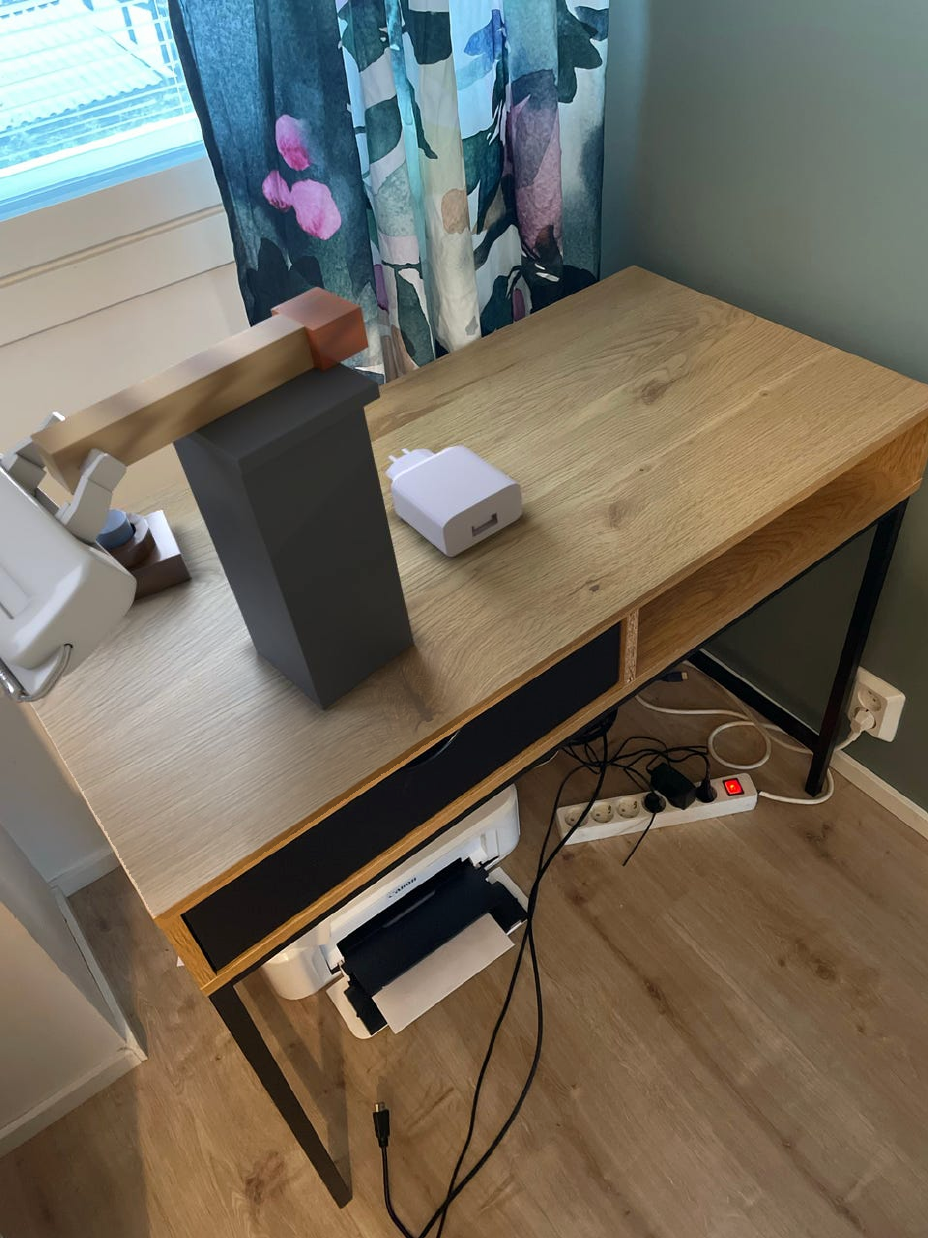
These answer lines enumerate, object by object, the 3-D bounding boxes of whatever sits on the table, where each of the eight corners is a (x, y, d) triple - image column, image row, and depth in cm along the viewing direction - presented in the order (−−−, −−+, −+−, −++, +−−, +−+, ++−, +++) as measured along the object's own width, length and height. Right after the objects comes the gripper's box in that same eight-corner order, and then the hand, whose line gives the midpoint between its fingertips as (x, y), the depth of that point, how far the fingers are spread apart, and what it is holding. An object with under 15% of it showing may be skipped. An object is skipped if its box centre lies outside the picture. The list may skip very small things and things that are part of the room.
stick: (80, 503, 52) (58, 461, 50) (44, 470, 55) (22, 429, 53) (369, 347, 62) (361, 306, 60) (326, 325, 65) (317, 286, 62)
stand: (329, 724, 72) (237, 460, 54) (241, 645, 80) (135, 389, 61) (430, 648, 77) (377, 381, 58) (339, 580, 84) (267, 323, 66)
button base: (88, 617, 84) (66, 579, 81) (76, 568, 90) (54, 530, 86) (191, 578, 87) (174, 539, 83) (173, 533, 92) (156, 494, 88)
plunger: (99, 555, 83) (90, 539, 82) (93, 534, 86) (84, 517, 84) (137, 541, 84) (129, 525, 83) (130, 521, 86) (121, 504, 85)
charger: (435, 453, 97) (523, 517, 88) (364, 491, 94) (448, 561, 85) (429, 416, 94) (520, 479, 85) (355, 454, 91) (442, 523, 82)
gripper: (-27, 705, 45) (131, 480, 45) (-148, 534, 57) (-21, 355, 57) (74, 733, 50) (217, 531, 50) (-55, 571, 62) (61, 407, 62)
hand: (90, 437), depth 54 cm, fingers open, 4 cm apart
